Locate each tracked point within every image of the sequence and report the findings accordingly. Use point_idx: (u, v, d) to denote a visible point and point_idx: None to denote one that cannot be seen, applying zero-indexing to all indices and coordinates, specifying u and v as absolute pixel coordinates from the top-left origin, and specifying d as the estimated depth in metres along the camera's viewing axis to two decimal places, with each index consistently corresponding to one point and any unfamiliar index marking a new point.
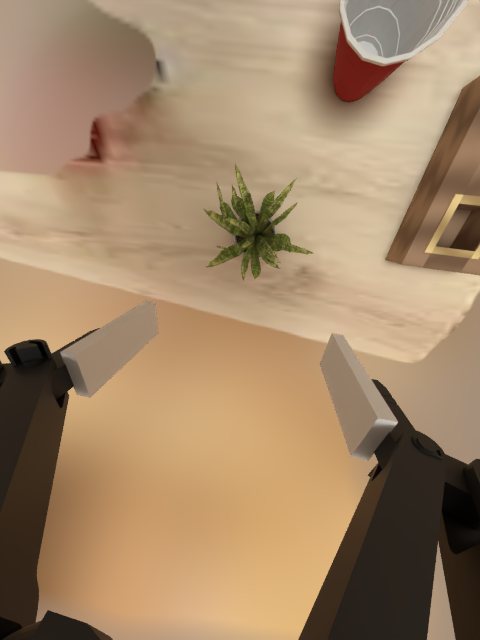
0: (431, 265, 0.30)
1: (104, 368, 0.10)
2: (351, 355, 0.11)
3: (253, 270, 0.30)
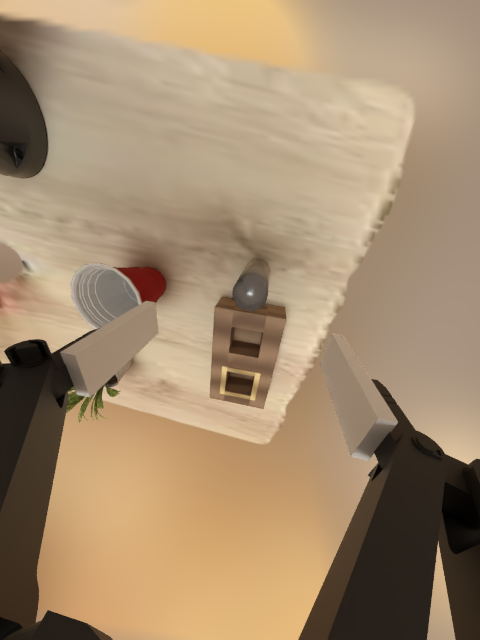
0: (228, 400, 0.42)
1: (104, 368, 0.10)
2: (351, 355, 0.11)
3: (98, 405, 0.41)
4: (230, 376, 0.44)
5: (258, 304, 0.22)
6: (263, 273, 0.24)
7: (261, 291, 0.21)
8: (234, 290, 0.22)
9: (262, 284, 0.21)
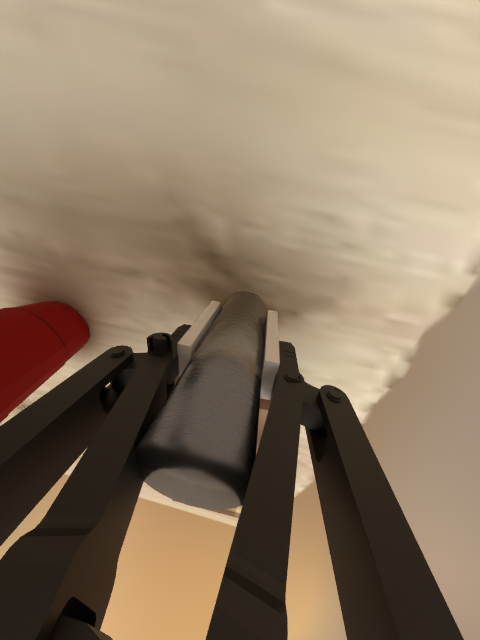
0: None
1: None
2: (273, 324, 0.13)
3: None
4: None
5: (223, 501, 0.06)
6: (247, 362, 0.09)
7: (230, 478, 0.06)
8: (137, 461, 0.06)
9: (232, 463, 0.05)
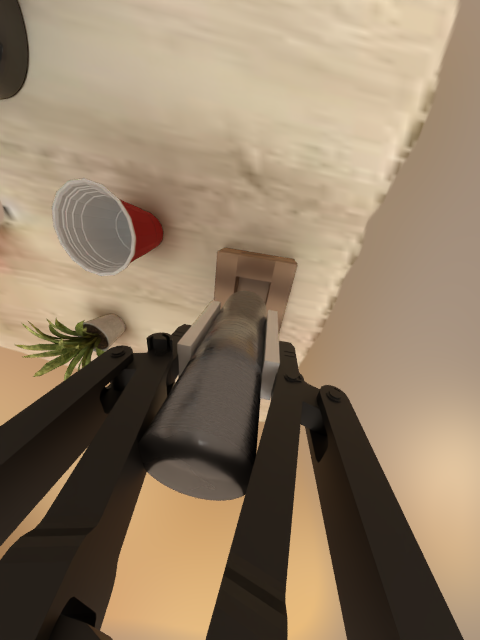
0: None
1: None
2: (273, 324, 0.13)
3: None
4: None
5: (225, 492, 0.07)
6: (248, 358, 0.09)
7: (232, 469, 0.06)
8: (141, 453, 0.06)
9: (234, 454, 0.06)
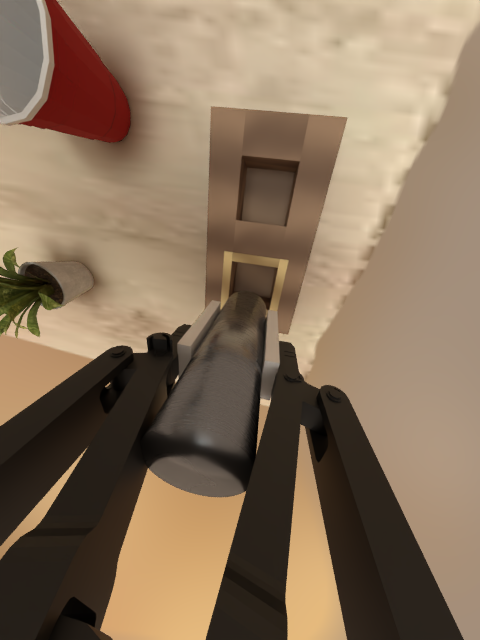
0: None
1: None
2: (273, 324, 0.13)
3: (31, 329, 0.27)
4: None
5: (226, 488, 0.07)
6: (248, 358, 0.09)
7: (232, 465, 0.06)
8: (144, 450, 0.06)
9: (234, 450, 0.06)
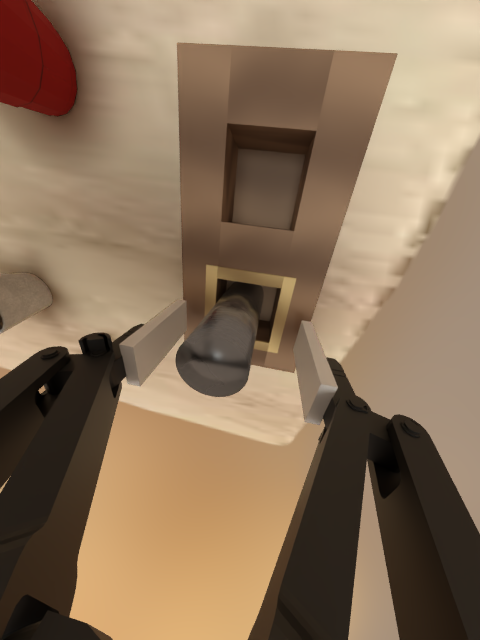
0: None
1: (150, 360, 0.11)
2: (314, 338, 0.12)
3: None
4: None
5: (231, 386, 0.10)
6: (246, 313, 0.13)
7: (235, 364, 0.10)
8: (178, 359, 0.10)
9: (236, 350, 0.09)
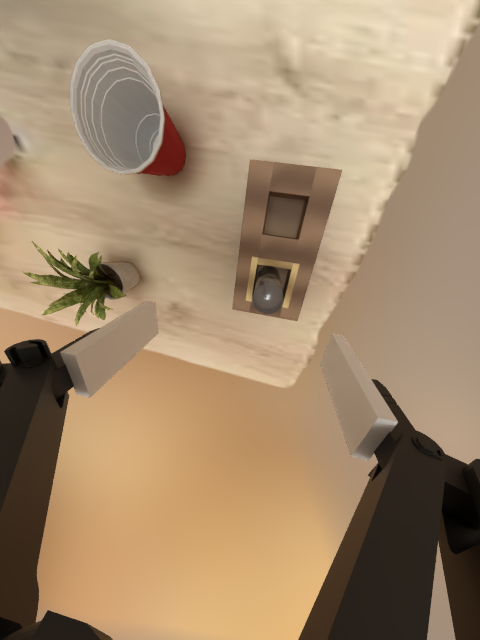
0: (255, 310, 0.35)
1: (104, 368, 0.10)
2: (351, 355, 0.11)
3: (99, 313, 0.34)
4: None
5: (275, 308, 0.25)
6: (277, 280, 0.27)
7: (278, 296, 0.24)
8: (254, 296, 0.25)
9: (279, 290, 0.24)
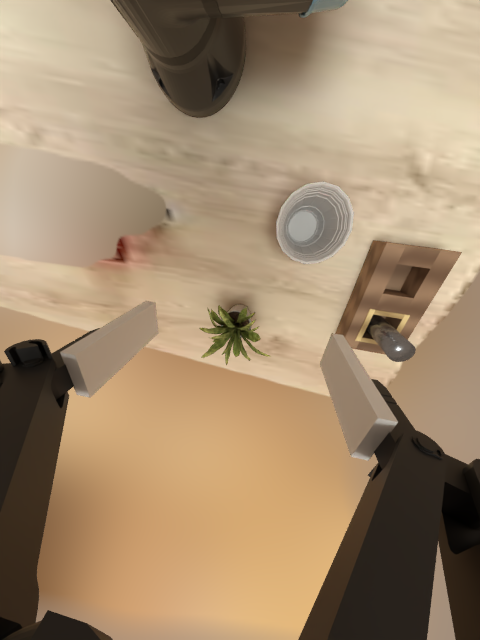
0: (361, 348, 0.42)
1: (104, 368, 0.10)
2: (351, 355, 0.11)
3: (234, 352, 0.42)
4: None
5: (406, 357, 0.33)
6: None
7: (411, 350, 0.32)
8: (390, 349, 0.32)
9: (413, 346, 0.31)
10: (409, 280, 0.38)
